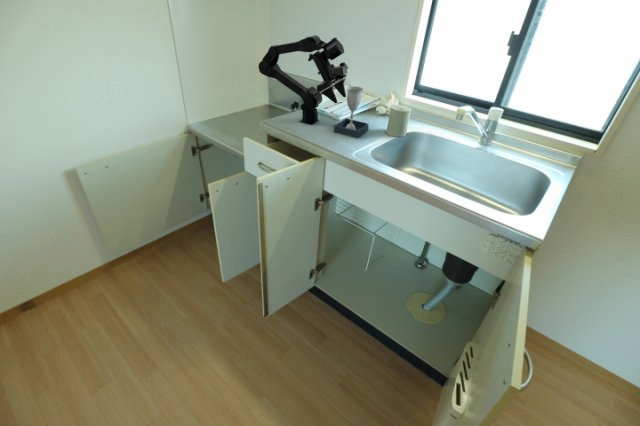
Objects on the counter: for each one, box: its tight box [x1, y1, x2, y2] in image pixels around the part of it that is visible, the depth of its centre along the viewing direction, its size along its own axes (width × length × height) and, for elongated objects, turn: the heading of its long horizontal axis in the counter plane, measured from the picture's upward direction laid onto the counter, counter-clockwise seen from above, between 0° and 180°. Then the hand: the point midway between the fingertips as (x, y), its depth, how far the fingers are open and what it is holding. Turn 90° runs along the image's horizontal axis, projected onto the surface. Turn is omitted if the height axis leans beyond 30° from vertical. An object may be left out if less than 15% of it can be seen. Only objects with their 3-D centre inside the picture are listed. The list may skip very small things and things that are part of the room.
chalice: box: [346, 86, 364, 130], centre depth 143 cm, size 7×7×18 cm
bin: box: [333, 117, 370, 139], centre depth 147 cm, size 12×12×3 cm
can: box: [385, 104, 412, 138], centre depth 145 cm, size 9×9×12 cm
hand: (340, 100), depth 143 cm, fingers open, 9 cm apart
